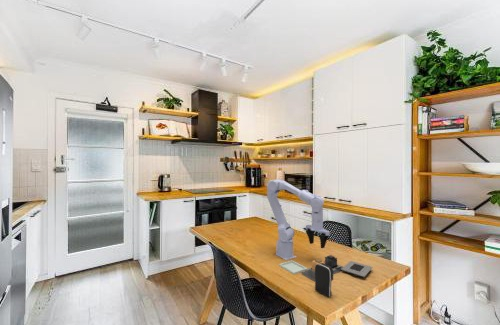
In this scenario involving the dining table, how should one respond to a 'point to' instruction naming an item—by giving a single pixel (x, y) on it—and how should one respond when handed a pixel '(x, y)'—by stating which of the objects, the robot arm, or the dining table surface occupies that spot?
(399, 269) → the dining table surface
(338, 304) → the dining table surface
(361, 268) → the electrical outlet
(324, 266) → the battery charger
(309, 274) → the pdu strip
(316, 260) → the plug
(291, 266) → the tray
